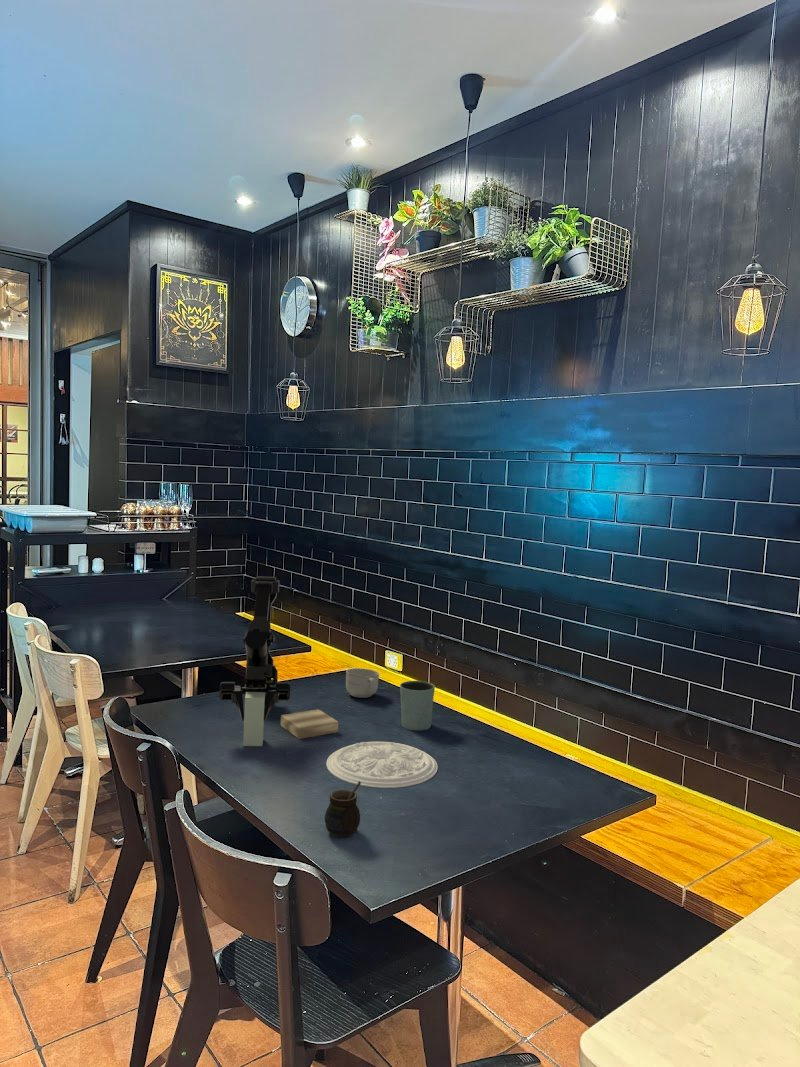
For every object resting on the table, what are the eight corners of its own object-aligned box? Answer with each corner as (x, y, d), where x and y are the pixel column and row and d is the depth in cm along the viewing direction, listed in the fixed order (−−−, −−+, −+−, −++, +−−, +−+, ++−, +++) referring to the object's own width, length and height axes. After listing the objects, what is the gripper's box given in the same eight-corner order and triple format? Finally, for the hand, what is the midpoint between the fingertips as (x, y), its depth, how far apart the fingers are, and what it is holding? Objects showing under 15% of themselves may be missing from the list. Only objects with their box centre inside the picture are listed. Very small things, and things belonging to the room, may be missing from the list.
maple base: (280, 725, 216) (280, 715, 216) (318, 719, 222) (318, 709, 222) (299, 739, 206) (299, 728, 206) (337, 732, 213) (338, 721, 212)
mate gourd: (316, 831, 155) (318, 783, 154) (344, 820, 161) (346, 774, 160) (339, 844, 150) (341, 796, 149) (367, 832, 155) (369, 785, 155)
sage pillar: (244, 739, 204) (246, 691, 203) (263, 739, 205) (265, 692, 203) (243, 746, 199) (245, 697, 198) (262, 746, 200) (264, 698, 199)
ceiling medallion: (427, 796, 175) (428, 783, 175) (311, 781, 180) (312, 768, 180) (444, 752, 202) (445, 741, 202) (343, 740, 208) (344, 729, 207)
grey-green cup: (433, 732, 216) (435, 691, 215) (397, 730, 216) (399, 689, 215) (432, 720, 226) (434, 681, 225) (398, 718, 226) (400, 679, 225)
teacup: (341, 691, 251) (342, 667, 250) (373, 689, 254) (374, 666, 254) (351, 704, 238) (352, 679, 237) (385, 702, 241) (386, 678, 240)
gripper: (220, 652, 202) (215, 706, 192) (291, 653, 205) (290, 706, 195) (222, 673, 211) (217, 725, 201) (290, 673, 213) (289, 725, 204)
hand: (253, 720), depth 200 cm, fingers closed on sage pillar, 5 cm apart
